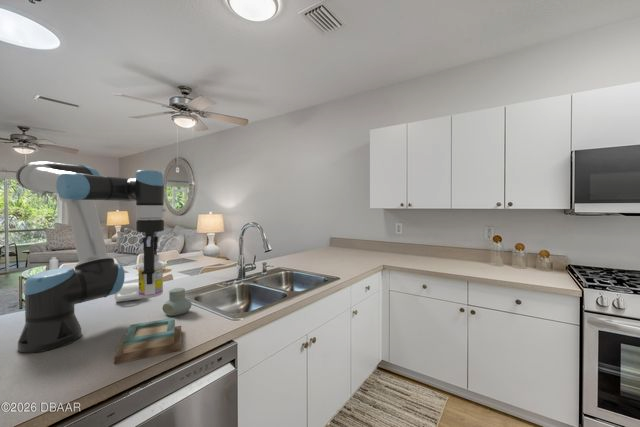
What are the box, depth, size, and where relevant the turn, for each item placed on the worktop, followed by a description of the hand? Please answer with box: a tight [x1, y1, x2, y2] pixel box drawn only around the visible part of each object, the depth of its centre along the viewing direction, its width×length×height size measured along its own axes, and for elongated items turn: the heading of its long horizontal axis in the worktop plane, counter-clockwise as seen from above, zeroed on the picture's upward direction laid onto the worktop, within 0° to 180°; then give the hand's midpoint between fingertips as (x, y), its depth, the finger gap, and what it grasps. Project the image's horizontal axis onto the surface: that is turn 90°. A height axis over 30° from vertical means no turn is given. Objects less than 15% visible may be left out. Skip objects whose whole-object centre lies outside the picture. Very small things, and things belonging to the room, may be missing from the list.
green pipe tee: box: [162, 287, 193, 317], centre depth 116 cm, size 11×8×10 cm
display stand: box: [113, 317, 182, 365], centre depth 89 cm, size 17×15×6 cm
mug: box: [114, 282, 142, 303], centre depth 131 cm, size 12×10×8 cm
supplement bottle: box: [138, 253, 164, 299], centre depth 88 cm, size 7×7×13 cm
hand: (151, 290), depth 88 cm, fingers closed on supplement bottle, 7 cm apart
